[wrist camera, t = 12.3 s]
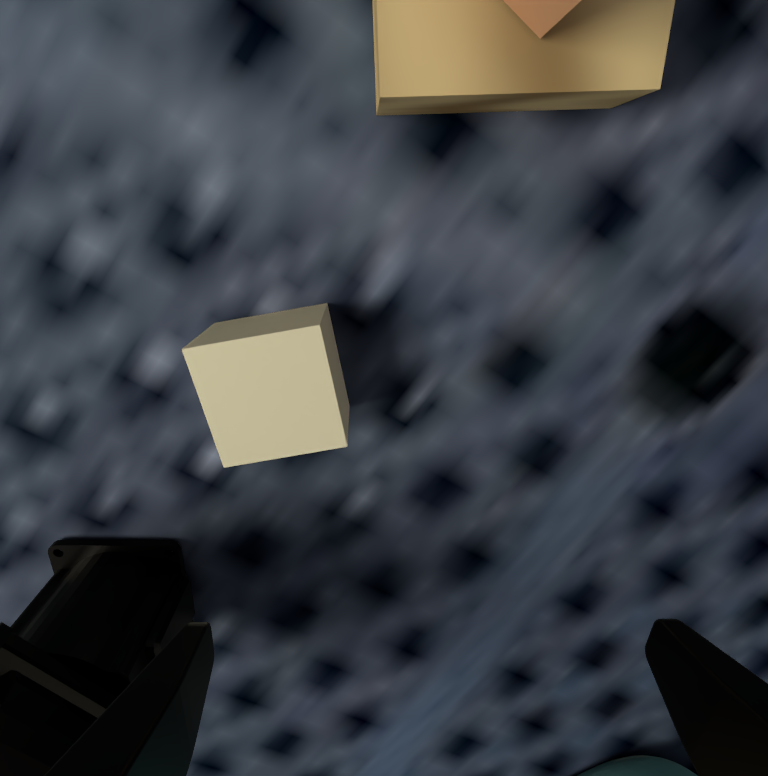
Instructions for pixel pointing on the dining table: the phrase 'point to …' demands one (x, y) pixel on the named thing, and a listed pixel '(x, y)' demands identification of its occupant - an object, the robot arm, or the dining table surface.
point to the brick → (271, 385)
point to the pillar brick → (541, 12)
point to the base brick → (515, 56)
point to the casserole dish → (639, 767)
